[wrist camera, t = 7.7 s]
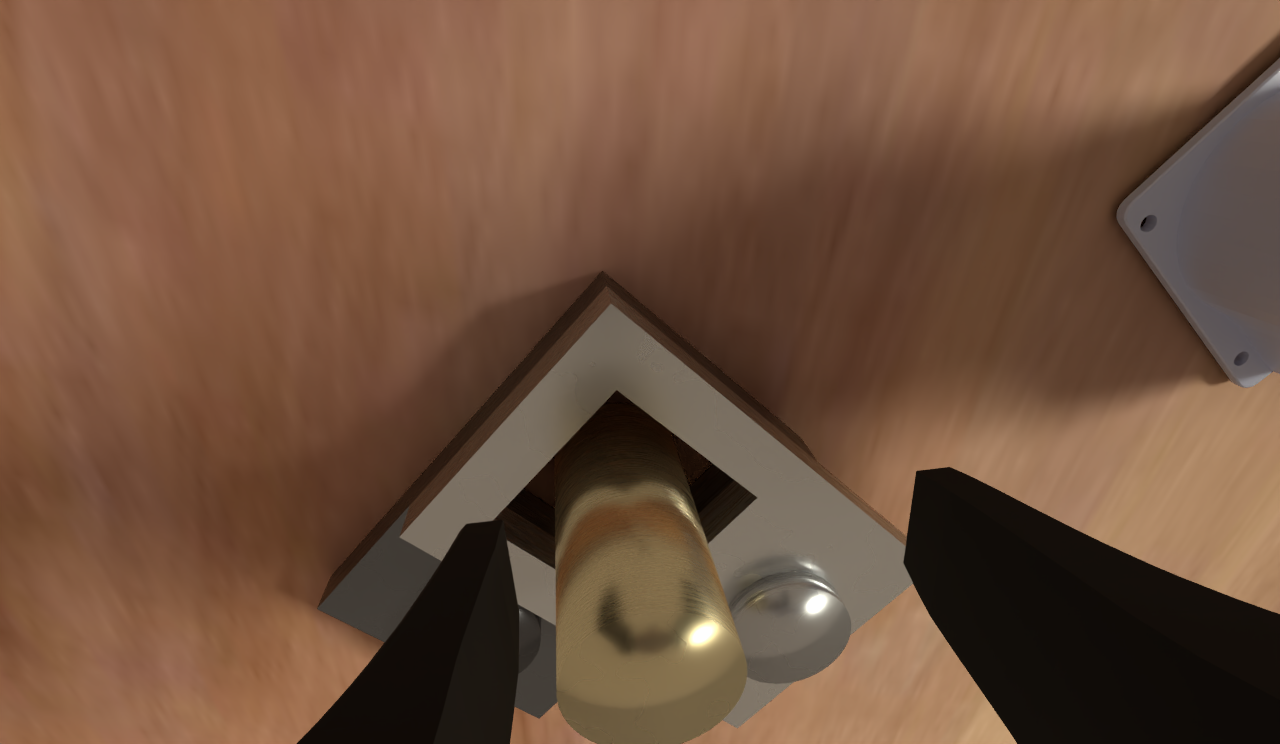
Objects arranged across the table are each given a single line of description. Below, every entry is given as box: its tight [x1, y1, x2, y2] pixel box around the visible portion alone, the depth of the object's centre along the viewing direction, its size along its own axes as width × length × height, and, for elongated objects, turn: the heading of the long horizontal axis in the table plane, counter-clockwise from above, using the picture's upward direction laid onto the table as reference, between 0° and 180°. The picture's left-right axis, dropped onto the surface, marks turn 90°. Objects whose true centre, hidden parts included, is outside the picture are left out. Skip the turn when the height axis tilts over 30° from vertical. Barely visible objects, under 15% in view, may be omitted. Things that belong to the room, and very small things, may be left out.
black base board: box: [317, 271, 817, 718], centre depth 21 cm, size 14×9×2 cm, turn 137°
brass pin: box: [555, 403, 747, 744], centre depth 18 cm, size 4×4×9 cm
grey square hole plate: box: [400, 286, 913, 728], centre depth 21 cm, size 14×9×4 cm, turn 47°
